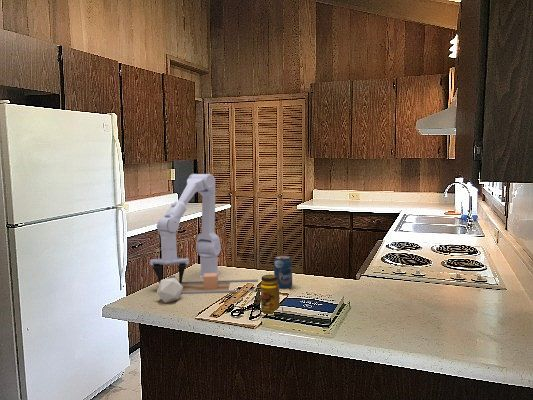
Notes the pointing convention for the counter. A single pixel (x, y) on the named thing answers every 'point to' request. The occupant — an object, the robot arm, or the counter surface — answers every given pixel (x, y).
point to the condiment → (269, 294)
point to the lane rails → (218, 290)
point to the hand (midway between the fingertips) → (170, 282)
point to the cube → (210, 280)
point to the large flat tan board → (202, 286)
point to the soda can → (283, 271)
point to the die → (169, 290)
